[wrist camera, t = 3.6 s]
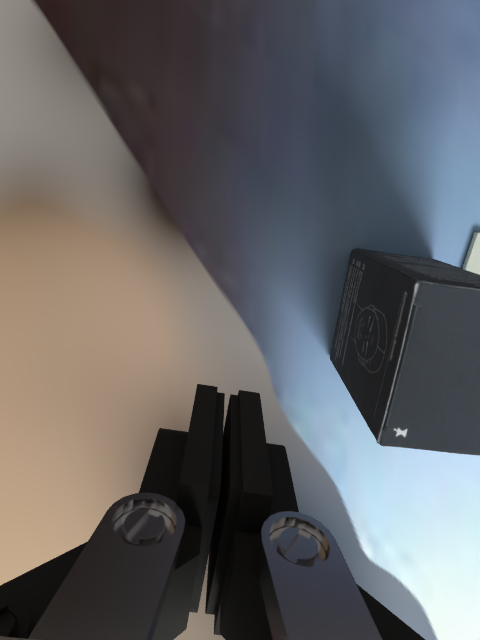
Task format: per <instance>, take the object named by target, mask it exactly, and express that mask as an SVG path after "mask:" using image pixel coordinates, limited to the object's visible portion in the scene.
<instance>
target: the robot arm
mask: <svg viewBox="0 0 480 640" xmlns="http://www.w3.org/2000/svg"><path fill="white" fill-rule="evenodd" d="M224 396H225V394H224V393H218V392H217V387H214V386H208V385H201V384H197V389H196V395H195V401H194V405H193V411H192V417H191V421H190V427H189V432H184V431H176V430H170V429H163V428H160V429H159V431H158V434H157V437H156V440H155V443H154V446H153V450H152V453H151V456H150V459H149V463H148V466H147V469H146V472H145V475H144V478H143V481H142V484H141V488H140V491H139V493H136V494H132V495H129V496H126V497H123V498H121V499H120V500H118V501H117V502H115V503H114V504H113V505H112V506H111V507H110V508H109V510H107V512H106V514H105V515H104V517H103V519H102V520H101V522H100V523H99V525H98V526H97V528H96V530H95V532H94V533H93V534H92V536H91V538H90V539H89V541H88V542H86V543H84V544H82V545H80V546H78V547H76V548H74V549H72V550H70V551H68V552H66V553H64V554H62V555H60V556H58V557H56V558H54V559H52V560H50V561H48V562H46V563H44V564H42V565H40V566H38V567H36V568H34V569H32V570H30V571H28V572H26V573H24V574H22V575H21V576H18V577H17V578H15V579H13V580H11V581H9V582H7V583H5V584H3V585H1V586H0V640H173V639H175V638H176V637H177V636H178V635H179V634H181V633H182V632H183V631H184V630H185V629H186V627H187V622H188V616H189V612H196V613H197V612H198V607H199V601H200V596H201V591H202V586H203V580H204V575H205V570H206V565H207V559H208V554H209V563H208V579H207V593H206V610H205V613H206V614H214V615H215V619H214V620H215V621H214V634H216V635H222V636H223V637H224V638H225V639H226V640H425V639H424V638H422V637H421V636H420V635H419V634H418V633H416V632H415V631H414V630H412V629H411V628H410V627H409V626H408V625H406V624H405V623H404V622H403V621H402V620H400V619H399V618H398V617H397V616H395V615H394V614H392V612H390V611H389V610H388V609H387V608H386V607H384V606H383V605H382V604H381V603H379V602H378V601H377V600H376V599H374V598H373V597H372V596H371V595H369V594H368V593H367V592H366V591H365V590H363V589H362V588H361V587H359V586H358V585H357V584H356V582H355V580H354V578H353V576H352V574H351V572H350V570H349V567H348V565H347V563H346V561H345V559H344V557H343V555H342V552H341V550H340V548H339V546H338V544H337V542H336V540H335V538H334V537H333V535H332V534H331V532H330V531H329V530H328V529H327V528H326V527H325V526H324V525H323V524H322V523H321V522H319V521H317V520H316V519H314V518H312V517H310V516H308V515H305V514H302V513H299V511H298V506H297V501H296V496H295V492H294V487H293V482H292V477H291V472H290V467H289V463H288V458H287V453H286V449H285V447H284V446H283V445H275V444H268V443H266V437H265V431H264V422H263V415H262V407H261V400H260V394H259V393H255V392H248V391H241V390H239V393H238V395H230V399H229V405H228V410H227V416H226V421H225V427H224V432H223V420H224V419H223V418H224Z"/></svg>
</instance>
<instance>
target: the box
mask: <svg viewBox="0 0 480 640" xmlns="http://www.w3.org/2000/svg"><path fill="white" fill-rule="evenodd" d="M330 360H331V361H332V363H333V365H334V367H335V368H336V370H337V372H338V374H339V375H340V377H341V379H342V381H343V383H344V384H345V386H346V388H347V390H348V391H349V393H350V395H351V397H352V399H353V400H354V402H355V404H356V406H357V407H358V409H359V411H360V412H361V414H362V416H363V418H364V419H365V421H366V423H367V425H368V427H369V428H370V430H371V432H372V433H373V435H374V436H375V438H376V441H377V443H378V444H380V445H381V446H392V447H403V448H413V449H422V450H431V451H439V452H449V453H458V454H469V455H480V275H479V274H476V273H473V272H470V271H467V270H464V269H461V268H458V267H456V266H452V265H450V264H447V263H444V262H441V261H438V260H435V259H428V258H421V257H414V256H406V255H398V254H390V253H384V252H377V251H369V250H363V249H353V250H352V252H351V256H350V261H349V265H348V271H347V275H346V280H345V285H344V290H343V295H342V300H341V305H340V310H339V314H338V320H337V325H336V329H335V335H334V340H333V344H332V349H331V355H330Z"/></svg>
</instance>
